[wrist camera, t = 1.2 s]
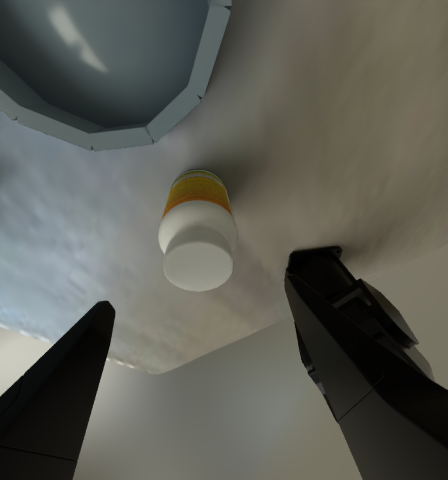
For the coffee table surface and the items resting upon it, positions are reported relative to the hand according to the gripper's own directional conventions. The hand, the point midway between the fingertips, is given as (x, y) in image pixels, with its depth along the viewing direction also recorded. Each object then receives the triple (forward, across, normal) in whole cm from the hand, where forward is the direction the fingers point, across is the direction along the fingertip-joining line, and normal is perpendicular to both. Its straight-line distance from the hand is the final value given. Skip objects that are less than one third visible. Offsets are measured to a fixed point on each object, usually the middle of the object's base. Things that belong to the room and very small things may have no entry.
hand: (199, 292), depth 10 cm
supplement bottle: (+11, 0, 0) cm, 11 cm away
